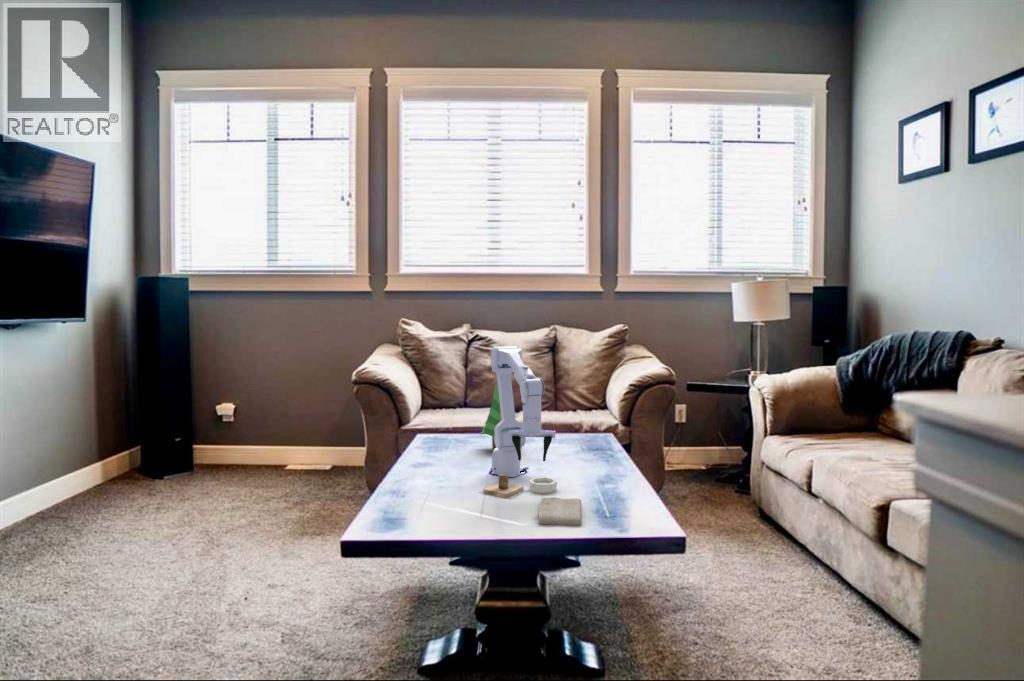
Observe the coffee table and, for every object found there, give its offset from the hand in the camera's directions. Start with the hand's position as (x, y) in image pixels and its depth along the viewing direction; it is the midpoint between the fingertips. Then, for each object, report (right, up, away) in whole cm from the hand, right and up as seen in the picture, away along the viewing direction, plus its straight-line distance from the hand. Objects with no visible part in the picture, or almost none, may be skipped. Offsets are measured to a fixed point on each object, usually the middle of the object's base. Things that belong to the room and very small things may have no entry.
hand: (532, 460), depth 200 cm
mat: (-9, -10, -2) cm, 14 cm away
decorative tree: (-12, -6, +56) cm, 58 cm away
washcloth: (+7, -12, -20) cm, 25 cm away
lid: (-9, -10, -2) cm, 13 cm away
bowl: (+3, -10, +1) cm, 11 cm away
